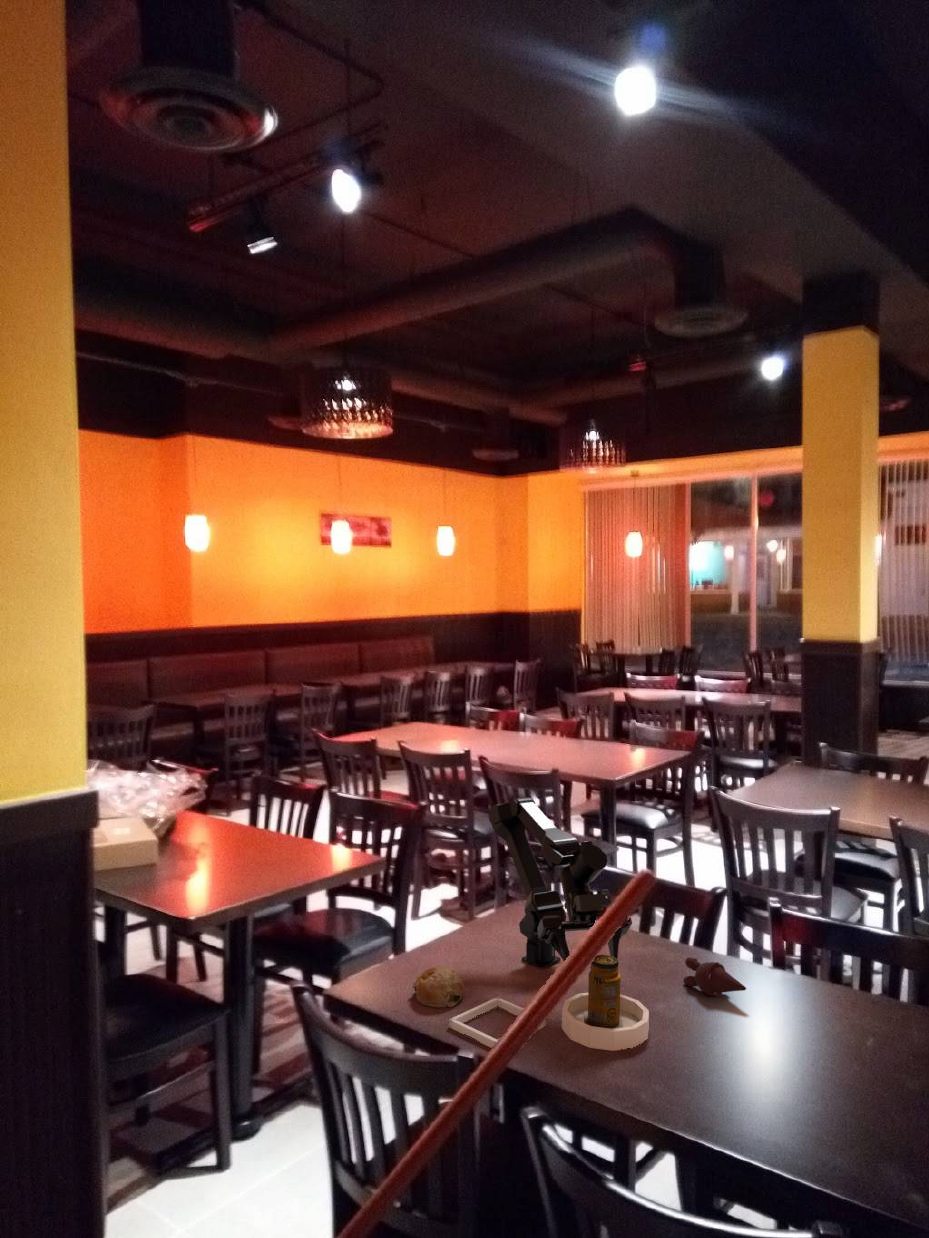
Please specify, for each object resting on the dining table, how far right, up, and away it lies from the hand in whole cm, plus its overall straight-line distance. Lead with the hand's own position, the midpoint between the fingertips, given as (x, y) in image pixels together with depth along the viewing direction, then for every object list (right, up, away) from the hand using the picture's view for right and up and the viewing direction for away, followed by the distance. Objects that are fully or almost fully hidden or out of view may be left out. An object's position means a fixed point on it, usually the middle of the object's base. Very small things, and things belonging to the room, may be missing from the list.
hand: (593, 966), depth 177 cm
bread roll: (-31, -9, +6) cm, 33 cm away
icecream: (+26, -9, +8) cm, 29 cm away
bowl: (+1, -9, -7) cm, 11 cm away
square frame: (-19, -9, -6) cm, 22 cm away
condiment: (+1, -8, -7) cm, 11 cm away
